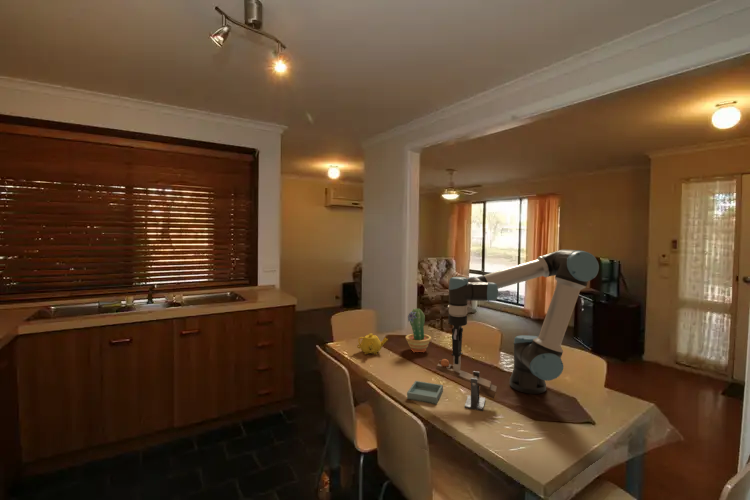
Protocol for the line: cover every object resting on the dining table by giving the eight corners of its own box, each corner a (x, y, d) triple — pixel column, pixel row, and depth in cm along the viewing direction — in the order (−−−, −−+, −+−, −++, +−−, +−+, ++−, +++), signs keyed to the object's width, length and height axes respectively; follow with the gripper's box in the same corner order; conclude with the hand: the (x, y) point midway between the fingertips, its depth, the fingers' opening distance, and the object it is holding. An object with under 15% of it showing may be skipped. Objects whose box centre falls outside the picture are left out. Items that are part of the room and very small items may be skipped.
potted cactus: (403, 346, 215) (403, 306, 213) (427, 345, 216) (427, 305, 215) (408, 355, 199) (408, 312, 198) (434, 354, 201) (434, 311, 200)
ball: (450, 366, 147) (449, 358, 147) (448, 369, 144) (448, 360, 144) (441, 365, 149) (441, 357, 149) (440, 368, 146) (439, 360, 145)
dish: (442, 391, 154) (442, 385, 154) (436, 404, 142) (436, 397, 142) (415, 386, 159) (415, 380, 159) (407, 398, 147) (407, 392, 147)
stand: (485, 399, 146) (485, 371, 145) (482, 411, 136) (482, 381, 136) (468, 396, 148) (468, 369, 148) (464, 407, 139) (464, 378, 138)
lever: (495, 392, 142) (498, 380, 141) (493, 399, 136) (497, 387, 136) (437, 370, 151) (439, 359, 150) (434, 376, 145) (436, 364, 145)
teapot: (370, 358, 195) (370, 339, 194) (354, 353, 204) (354, 334, 204) (388, 352, 205) (388, 333, 204) (372, 347, 214) (372, 329, 214)
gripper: (451, 310, 151) (450, 363, 152) (445, 317, 139) (444, 375, 140) (469, 312, 148) (468, 366, 149) (464, 319, 136) (463, 378, 137)
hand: (456, 370), depth 145 cm, fingers closed
